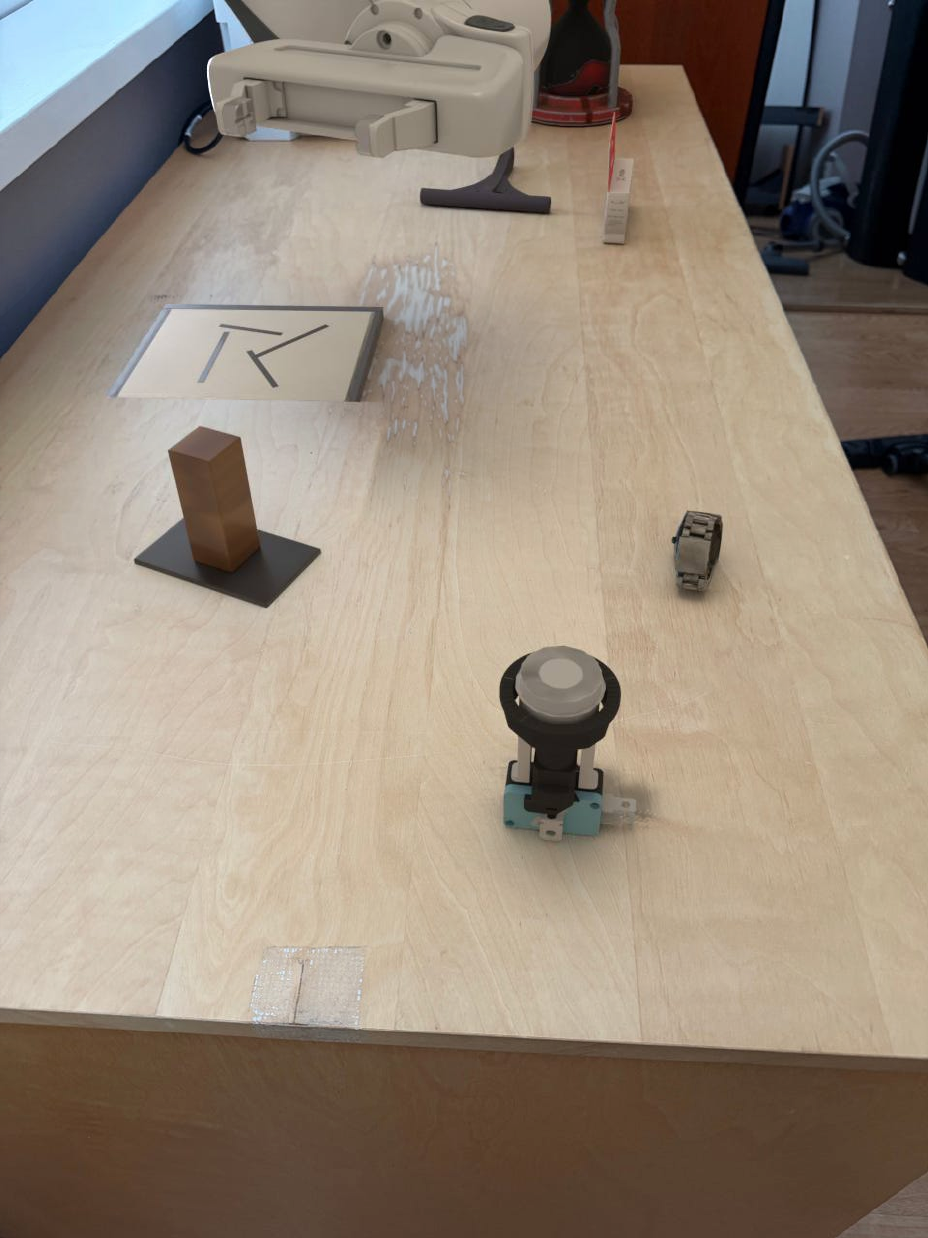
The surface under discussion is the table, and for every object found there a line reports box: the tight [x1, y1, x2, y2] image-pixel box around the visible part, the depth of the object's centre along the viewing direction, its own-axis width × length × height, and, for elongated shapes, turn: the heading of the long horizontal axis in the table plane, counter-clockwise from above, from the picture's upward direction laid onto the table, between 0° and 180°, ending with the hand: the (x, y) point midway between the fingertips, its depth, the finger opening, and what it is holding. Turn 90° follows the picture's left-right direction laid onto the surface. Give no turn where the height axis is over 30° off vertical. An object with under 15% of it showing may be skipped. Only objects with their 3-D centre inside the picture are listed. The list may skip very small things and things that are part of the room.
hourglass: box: [531, 0, 634, 127], centre depth 134 cm, size 16×16×25 cm
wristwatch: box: [671, 509, 724, 592], centre depth 64 cm, size 3×5×5 cm
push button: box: [498, 645, 637, 842], centre depth 48 cm, size 7×5×10 cm
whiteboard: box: [105, 303, 384, 403], centre depth 86 cm, size 20×22×1 cm
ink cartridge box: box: [602, 112, 635, 245], centre depth 107 cm, size 2×11×10 cm, turn 171°
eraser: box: [133, 425, 322, 609], centre depth 63 cm, size 10×6×10 cm, turn 63°
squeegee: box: [419, 146, 552, 214], centre depth 119 cm, size 14×15×3 cm
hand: (294, 131), depth 59 cm, fingers open, 8 cm apart
